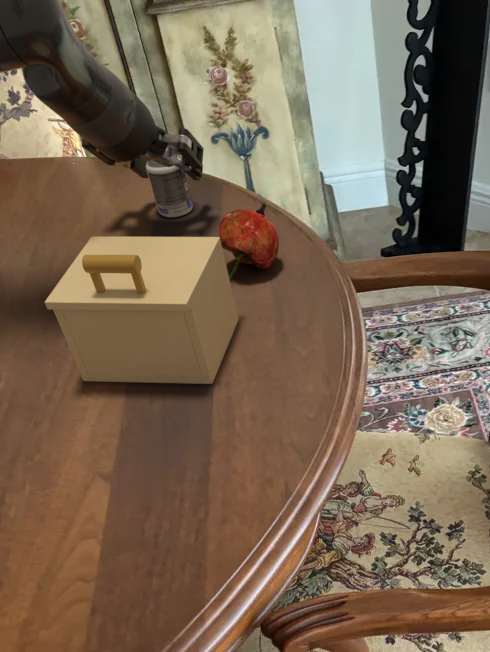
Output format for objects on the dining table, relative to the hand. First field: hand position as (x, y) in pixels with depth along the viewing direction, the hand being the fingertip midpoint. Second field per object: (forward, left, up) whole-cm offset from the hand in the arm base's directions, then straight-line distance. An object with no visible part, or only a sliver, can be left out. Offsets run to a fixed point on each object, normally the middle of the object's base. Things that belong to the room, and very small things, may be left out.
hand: (172, 171), depth 104 cm
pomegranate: (+14, -17, -5) cm, 22 cm away
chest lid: (+8, -34, +5) cm, 35 cm away
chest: (+8, -34, -4) cm, 35 cm away
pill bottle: (0, -2, -5) cm, 5 cm away
